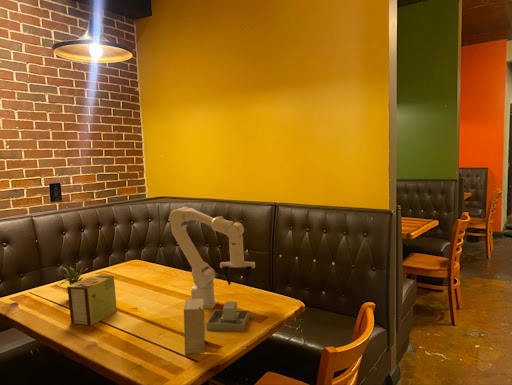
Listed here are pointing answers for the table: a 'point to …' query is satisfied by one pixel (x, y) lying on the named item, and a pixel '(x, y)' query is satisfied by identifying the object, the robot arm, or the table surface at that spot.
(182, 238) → the robot arm
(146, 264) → the table surface
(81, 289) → the protein box
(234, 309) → the carton
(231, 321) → the wooden block
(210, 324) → the crate
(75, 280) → the house plant
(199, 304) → the skincare box
